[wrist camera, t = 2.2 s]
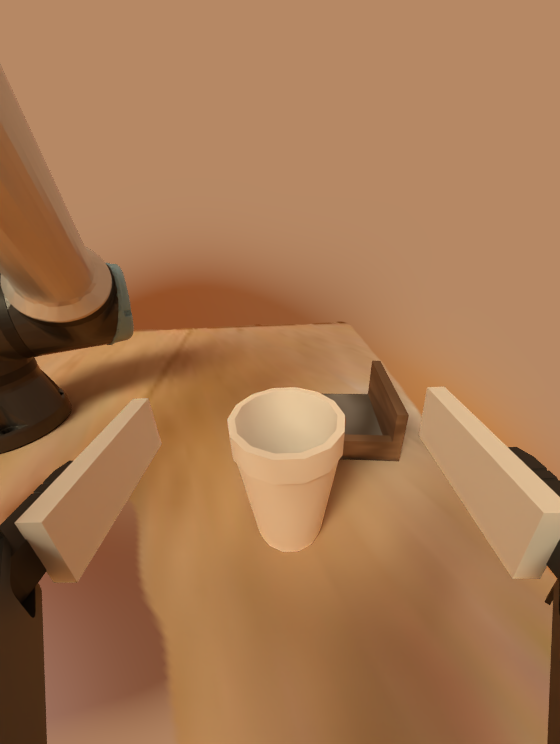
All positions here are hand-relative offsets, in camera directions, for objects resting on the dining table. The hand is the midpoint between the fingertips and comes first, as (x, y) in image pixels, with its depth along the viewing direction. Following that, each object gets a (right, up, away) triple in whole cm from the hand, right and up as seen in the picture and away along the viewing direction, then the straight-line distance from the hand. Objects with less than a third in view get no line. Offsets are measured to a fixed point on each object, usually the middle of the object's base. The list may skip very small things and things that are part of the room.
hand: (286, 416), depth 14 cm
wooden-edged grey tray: (+5, -6, +29) cm, 30 cm away
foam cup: (+1, -13, +15) cm, 20 cm away
